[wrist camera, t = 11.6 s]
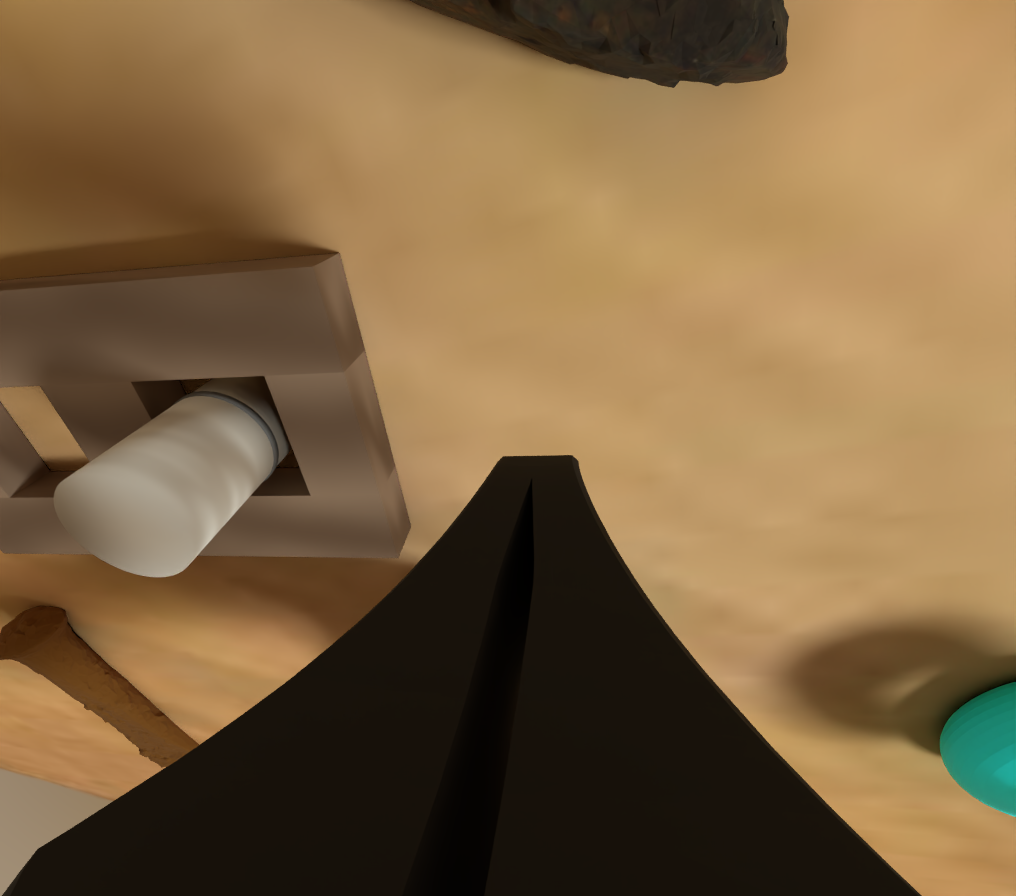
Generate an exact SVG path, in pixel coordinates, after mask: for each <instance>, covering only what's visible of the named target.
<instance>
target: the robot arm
mask: <svg viewBox="0 0 1016 896" xmlns="http://www.w3.org/2000/svg"><path fill="white" fill-rule="evenodd" d="M2 896H921V895H920V894H919V893H918V892H917V891H916V890H915V889H914V888H913V887H912V886H911V885H910V884H909V883H908V882H907V881H906V880H904V879H903V878H902V877H901V876H900V875H899V874H898V873H897V872H896V871H895V870H894V869H893V868H892V867H891V866H890V865H889V864H888V863H887V862H886V861H885V860H884V859H883V858H882V857H881V856H880V855H879V854H877V853H876V852H875V851H874V850H873V849H872V848H871V847H870V846H869V845H868V844H867V843H866V842H865V841H864V840H863V839H862V838H861V837H860V836H859V835H858V834H857V833H856V832H855V831H854V830H853V829H852V828H851V827H850V826H849V825H848V824H847V823H846V822H845V821H844V820H843V819H842V818H841V817H840V816H839V815H838V814H837V813H836V812H835V811H834V810H833V809H832V808H831V807H830V806H829V805H828V804H827V803H826V802H825V801H824V800H823V799H822V798H821V797H820V796H819V795H818V794H817V793H816V792H815V791H814V790H813V789H812V788H811V787H810V786H809V785H808V784H807V783H806V782H805V780H804V779H803V778H802V777H801V776H800V775H799V774H798V773H797V772H796V771H795V770H794V769H793V768H792V767H791V766H790V765H789V764H788V763H787V762H786V761H785V760H784V759H783V758H782V757H781V756H780V755H779V754H778V753H777V752H776V751H775V750H774V748H773V747H772V746H771V745H770V744H769V743H768V742H767V741H766V740H765V739H764V737H763V736H762V735H761V734H760V733H759V732H758V731H757V730H756V728H755V727H754V726H753V725H752V724H751V723H750V722H749V721H748V719H747V718H746V717H745V716H744V715H743V714H742V713H741V712H740V710H739V709H738V708H737V707H736V706H735V705H734V704H733V703H732V702H731V700H730V699H729V698H728V697H727V696H726V695H725V694H724V693H723V691H722V690H721V689H720V688H719V687H718V686H717V685H716V684H715V682H714V681H713V680H712V679H711V678H710V677H709V676H708V675H707V673H706V672H705V671H704V670H703V669H702V668H701V666H700V665H699V664H698V663H697V661H696V660H695V659H694V658H693V656H692V655H691V654H690V653H689V651H688V650H687V649H686V648H685V646H684V645H683V644H682V643H681V641H680V640H679V639H678V638H677V636H676V635H675V634H674V633H673V631H672V630H671V629H670V627H669V626H668V625H667V623H666V622H665V620H664V619H663V618H662V616H661V615H660V614H659V612H658V611H657V610H656V608H655V607H654V606H653V604H652V603H651V601H650V600H649V599H648V597H647V596H646V594H645V593H644V591H643V590H642V588H641V587H640V585H639V584H638V582H637V581H636V579H635V578H634V576H633V575H632V573H631V572H630V570H629V568H628V567H627V565H626V564H625V562H624V561H623V559H622V557H621V556H620V554H619V552H618V551H617V549H616V547H615V546H614V544H613V542H612V540H611V539H610V537H609V535H608V533H607V531H606V529H605V527H604V525H603V524H602V522H601V520H600V518H599V516H598V514H597V512H596V510H595V508H594V506H593V504H592V502H591V499H590V497H589V495H588V492H587V490H586V487H585V485H584V482H583V479H582V476H581V473H580V469H579V464H578V460H577V459H575V458H574V457H573V456H572V455H559V456H503V457H502V458H501V459H500V460H499V461H498V462H497V464H496V465H495V467H494V468H493V470H492V471H491V472H490V474H489V475H488V477H487V478H486V480H485V481H484V483H483V484H482V485H481V487H480V488H479V490H478V491H477V492H476V494H475V495H474V496H473V498H472V499H471V500H470V502H469V503H468V504H467V506H466V507H465V508H464V509H463V511H462V512H461V513H460V514H459V516H458V517H457V518H456V519H455V521H454V522H453V523H452V524H451V526H450V527H449V528H448V529H447V531H446V532H445V533H444V534H443V535H442V537H441V538H440V539H439V540H438V541H437V542H436V543H435V545H434V546H433V547H432V548H431V549H430V550H429V551H428V552H427V554H426V555H425V556H424V557H423V558H422V559H421V560H420V561H419V562H418V564H417V565H416V566H415V567H414V568H413V569H412V570H411V571H410V572H409V573H408V574H407V576H406V577H405V578H404V579H403V580H402V581H401V582H400V583H399V584H398V585H397V586H396V587H395V588H394V589H393V590H392V591H391V592H390V593H389V594H388V595H387V596H386V597H385V598H384V599H383V600H381V601H380V602H379V603H378V604H377V605H376V606H375V607H374V608H373V609H372V610H371V611H370V612H369V613H368V614H367V615H366V616H364V617H363V618H362V619H361V620H360V621H359V622H358V623H357V624H356V625H354V626H353V627H352V628H351V629H350V630H349V631H347V632H346V633H345V634H344V635H343V636H342V637H341V638H339V639H338V640H337V641H336V642H335V643H334V644H332V645H331V646H330V647H329V648H328V649H326V650H325V651H324V652H323V653H322V654H320V655H319V656H318V657H317V658H316V659H314V660H313V661H312V662H311V663H309V664H308V665H307V666H306V667H305V668H303V669H302V670H301V671H300V672H298V673H297V674H296V675H295V676H294V677H292V678H291V679H290V680H288V681H287V682H286V683H285V684H283V685H282V686H281V687H279V688H278V689H277V690H275V691H274V692H272V693H271V694H270V695H268V696H267V697H266V698H264V699H263V700H262V701H260V702H259V703H258V704H256V705H255V706H254V707H252V708H251V709H249V710H248V711H247V712H245V713H244V714H243V715H241V716H240V717H239V718H237V719H236V720H234V721H233V722H231V723H230V724H229V725H227V726H226V727H224V728H223V729H222V730H220V731H219V732H217V733H216V734H215V735H213V736H212V737H210V738H209V739H207V740H206V741H205V742H203V743H202V744H200V745H199V746H197V747H196V748H194V749H193V750H191V751H190V752H188V753H187V754H186V755H184V756H183V757H181V758H180V759H178V760H177V761H175V762H174V763H172V764H171V765H169V766H168V767H166V768H164V769H163V770H161V771H160V772H158V773H157V774H155V775H154V776H152V777H150V778H149V779H147V780H146V781H144V782H143V783H141V784H140V785H138V786H136V787H135V788H133V789H132V790H130V791H129V792H127V793H126V794H124V795H122V796H121V797H119V798H118V799H116V800H115V801H113V802H112V803H110V804H108V805H107V806H105V807H104V808H102V809H101V810H99V811H98V812H96V813H95V814H93V815H91V816H90V817H88V818H87V819H85V820H84V821H82V822H81V823H79V824H77V825H76V826H74V827H73V828H71V829H70V830H68V831H66V832H65V833H63V834H61V835H60V836H58V837H57V838H55V839H53V840H52V841H50V842H48V843H47V844H45V845H44V846H42V847H40V848H39V849H37V851H36V852H35V853H34V855H33V856H32V857H31V859H30V860H29V861H28V862H27V863H26V865H25V866H24V867H23V869H22V870H21V871H20V872H19V874H18V875H17V876H16V878H15V879H14V880H13V882H12V883H11V884H10V886H9V887H8V888H7V890H6V891H5V892H4V894H3V895H2Z"/></svg>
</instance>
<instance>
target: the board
mask: <svg viewBox="0 0 1016 896" xmlns="http://www.w3.org/2000/svg"><path fill="white" fill-rule="evenodd" d="M249 376H264V377H265V379H266V382H267V385H268V387H269V390H270V392H271V395H272V397H273V400H274V403H275V405H276V408H277V410H278V413H279V415H280V418H281V421H282V423H283V426H284V428H285V431H286V433H287V436H288V439H289V441H290V444H291V446H292V449H293V452H294V454H295V457H296V459H297V462H298V464H299V467H300V468H275V470H274V472H273V473H272V474H271V475H270V476H269V477H268V479H266V480H265V481H264V482H262V483H261V484H260V486H259V487H258V488H257V489H256V490H255V491H254V492H253V493H252V495H251V496H250V497H249V498H248V499H247V500H246V501H245V502H244V504H243V505H242V506H241V507H240V508H239V509H238V510H237V511H236V513H235V514H234V515H233V516H232V517H231V518H230V519H229V520H228V522H227V523H226V524H225V525H224V526H223V527H222V528H221V529H220V531H219V532H218V533H217V534H216V535H215V536H214V537H213V538H212V540H211V541H210V542H209V543H208V544H207V545H206V546H205V547H204V549H203V550H202V551H201V552H200V553H199V554H198V555H197V556H261V557H343V558H399V555H400V553H401V550H402V548H403V545H404V543H405V540H406V538H407V535H408V533H409V531H410V528H411V525H410V521H409V517H408V513H407V509H406V505H405V502H404V498H403V494H402V490H401V486H400V483H399V479H398V475H397V471H396V467H395V463H394V460H393V456H392V452H391V448H390V444H389V440H388V437H387V433H386V429H385V425H384V421H383V417H382V414H381V410H380V406H379V402H378V398H377V394H376V391H375V387H374V383H373V379H372V375H371V371H370V368H369V364H368V360H367V356H366V352H365V348H364V345H363V341H362V337H361V333H360V329H359V326H358V322H357V318H356V314H355V310H354V306H353V303H352V299H351V295H350V291H349V287H348V283H347V280H346V276H345V272H344V268H343V264H342V260H341V257H340V253H333V254H320V255H308V256H296V257H283V258H271V259H259V260H246V261H234V262H222V263H209V264H197V265H185V266H172V267H160V268H148V269H135V270H123V271H111V272H98V273H86V274H74V275H61V276H49V277H37V278H24V279H12V280H0V388H2V387H24V386H40V387H41V388H42V390H43V391H44V393H45V394H46V396H47V397H48V399H49V400H50V402H51V404H52V405H53V407H54V408H55V410H56V411H57V413H58V414H59V416H60V417H61V419H62V420H63V422H64V423H65V425H66V426H67V428H68V429H69V431H70V432H71V434H72V435H73V437H74V438H75V440H76V441H77V443H78V444H79V446H80V447H81V449H82V450H83V452H84V453H85V455H86V457H87V458H88V460H89V461H90V462H91V461H92V460H94V459H95V458H97V457H98V456H99V455H101V454H102V453H104V452H105V451H107V450H108V449H110V448H111V447H113V446H114V445H116V444H117V443H119V442H120V441H122V440H123V439H124V438H126V437H127V436H129V435H130V434H132V433H133V432H135V431H136V430H138V429H139V428H141V427H142V426H144V425H145V424H146V423H148V422H149V421H151V420H152V419H154V418H155V417H157V416H158V415H160V414H161V413H163V412H164V411H166V410H167V409H169V408H170V407H171V406H172V405H173V404H174V403H175V402H176V401H178V400H179V399H181V398H182V397H183V396H185V395H186V394H185V392H184V390H183V388H182V386H181V383H180V381H179V380H182V379H204V378H227V377H249ZM74 472H76V471H54V472H50V470H49V469H48V468H47V466H46V465H45V463H44V462H43V461H42V459H41V458H40V456H39V455H38V454H37V452H36V451H35V450H34V448H33V447H32V445H31V444H30V443H29V441H28V440H27V438H26V437H25V436H24V434H23V433H22V432H21V430H20V429H19V427H18V426H17V425H16V423H15V422H14V420H13V419H12V418H11V416H10V415H9V413H8V412H7V411H6V409H5V408H4V407H3V405H2V404H1V402H0V550H1V551H2V552H3V553H15V554H92V553H90V552H89V551H88V550H86V549H85V548H84V547H83V546H81V545H80V544H79V543H78V542H77V541H76V540H75V539H74V538H73V537H72V536H71V535H70V534H69V533H68V531H67V530H66V529H65V527H64V526H63V525H62V523H61V521H60V520H59V518H58V516H57V513H56V511H55V507H54V492H55V490H56V488H57V486H58V485H59V484H60V482H62V481H63V480H64V479H66V478H67V477H69V476H70V475H72V474H73V473H74Z"/></svg>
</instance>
